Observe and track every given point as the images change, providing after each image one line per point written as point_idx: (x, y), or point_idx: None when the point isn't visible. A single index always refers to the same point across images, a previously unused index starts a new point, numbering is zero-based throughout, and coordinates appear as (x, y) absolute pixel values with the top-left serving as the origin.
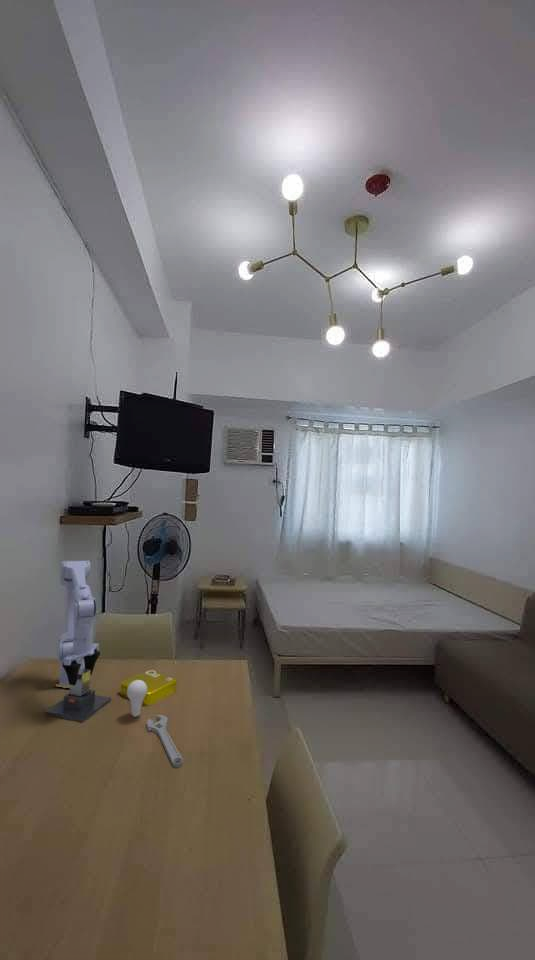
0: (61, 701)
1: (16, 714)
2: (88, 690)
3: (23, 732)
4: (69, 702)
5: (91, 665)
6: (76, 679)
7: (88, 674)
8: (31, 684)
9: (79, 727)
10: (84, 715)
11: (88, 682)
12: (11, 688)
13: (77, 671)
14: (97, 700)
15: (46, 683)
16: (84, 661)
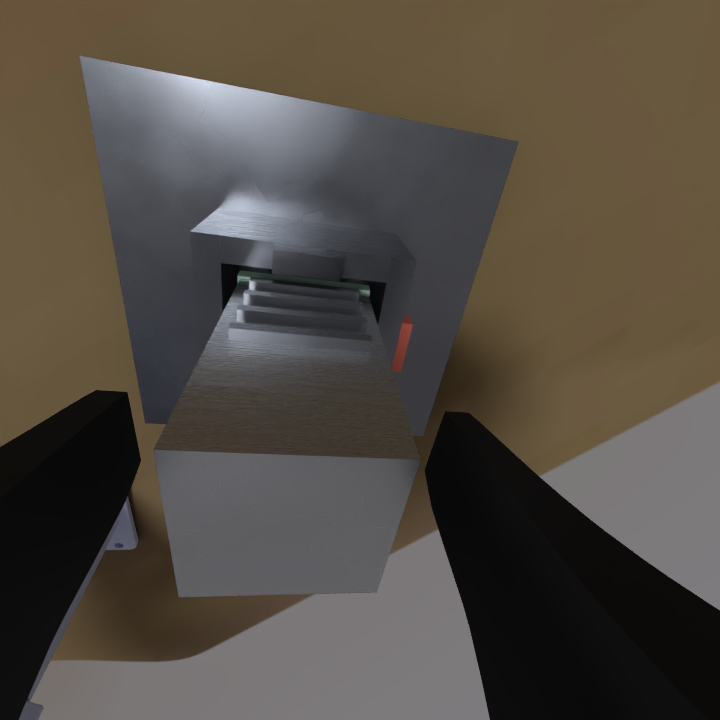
0: None
1: (425, 514)
2: (258, 285)
3: (581, 410)
4: None
5: (6, 531)
6: (494, 454)
7: (230, 404)
8: (166, 608)
9: (576, 128)
10: (464, 162)
11: (261, 326)
12: (230, 630)
13: (622, 581)
14: (195, 188)
15: (123, 577)
16: (22, 703)
